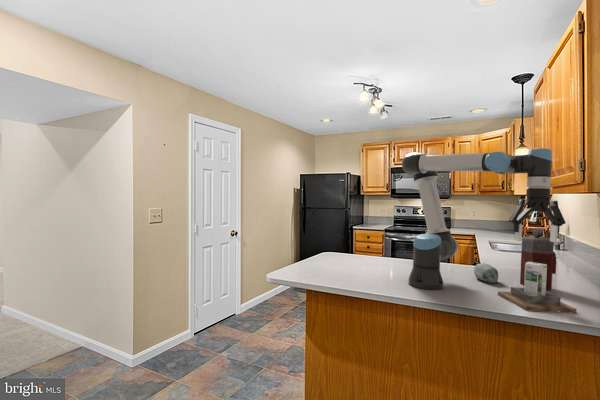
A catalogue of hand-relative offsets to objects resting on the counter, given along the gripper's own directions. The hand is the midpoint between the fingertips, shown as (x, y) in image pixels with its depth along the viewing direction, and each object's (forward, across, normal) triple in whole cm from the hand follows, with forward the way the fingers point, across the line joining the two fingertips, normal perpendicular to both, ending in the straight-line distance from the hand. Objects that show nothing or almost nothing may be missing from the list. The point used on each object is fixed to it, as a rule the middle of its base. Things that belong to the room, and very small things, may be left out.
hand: (535, 241), depth 123 cm
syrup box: (+23, 0, 0) cm, 23 cm away
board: (+25, 0, 0) cm, 25 cm away
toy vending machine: (+25, +18, +24) cm, 39 cm away
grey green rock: (+25, -2, +32) cm, 40 cm away
